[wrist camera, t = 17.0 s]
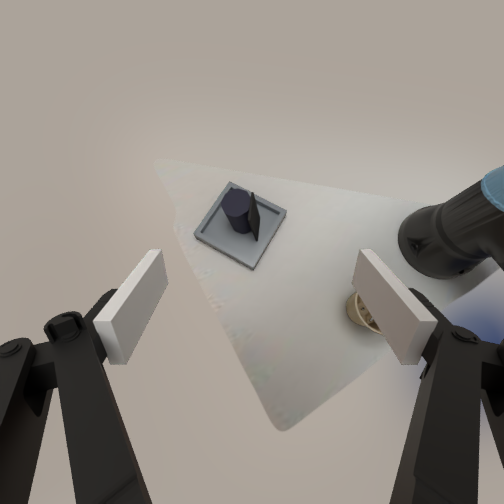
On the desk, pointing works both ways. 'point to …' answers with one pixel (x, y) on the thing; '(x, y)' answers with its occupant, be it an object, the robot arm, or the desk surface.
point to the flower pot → (360, 313)
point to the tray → (236, 244)
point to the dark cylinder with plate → (241, 211)
